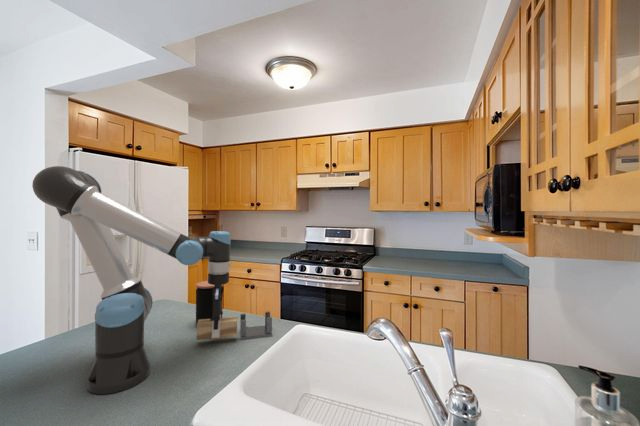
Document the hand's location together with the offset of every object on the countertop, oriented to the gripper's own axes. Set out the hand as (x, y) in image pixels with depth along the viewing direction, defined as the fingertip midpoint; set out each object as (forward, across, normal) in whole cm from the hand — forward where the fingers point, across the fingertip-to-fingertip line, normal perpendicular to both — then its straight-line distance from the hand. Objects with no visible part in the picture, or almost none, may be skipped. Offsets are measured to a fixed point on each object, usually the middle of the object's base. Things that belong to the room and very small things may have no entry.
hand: (216, 334), depth 106 cm
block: (+1, 0, 0) cm, 1 cm away
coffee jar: (+3, +18, +4) cm, 19 cm away
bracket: (+2, +4, -15) cm, 16 cm away
